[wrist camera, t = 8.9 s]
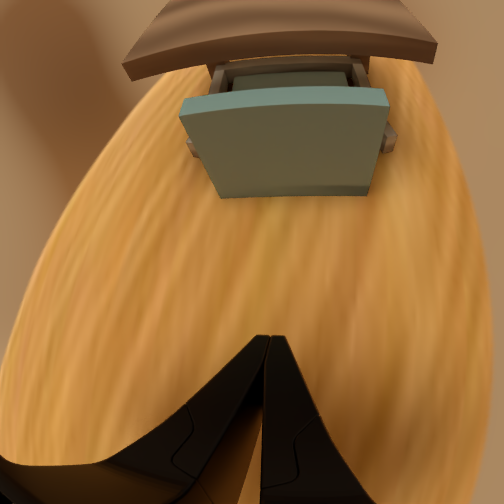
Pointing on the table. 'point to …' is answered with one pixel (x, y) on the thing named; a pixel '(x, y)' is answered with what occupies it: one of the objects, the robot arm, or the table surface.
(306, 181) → the teal plastic shell
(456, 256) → the table surface
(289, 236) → the table surface
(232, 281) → the table surface
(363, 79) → the walnut overhang shelf
